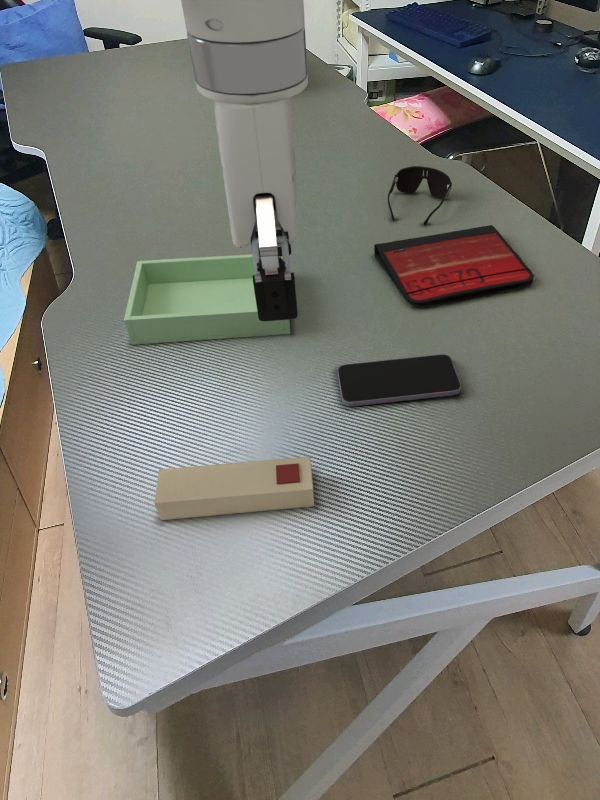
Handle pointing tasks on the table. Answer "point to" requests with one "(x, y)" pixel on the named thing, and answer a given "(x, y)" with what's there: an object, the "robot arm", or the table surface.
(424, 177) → the sunglasses
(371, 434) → the table surface
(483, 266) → the binder
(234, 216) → the robot arm
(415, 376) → the smartphone
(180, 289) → the bin
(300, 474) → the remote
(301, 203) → the table surface
